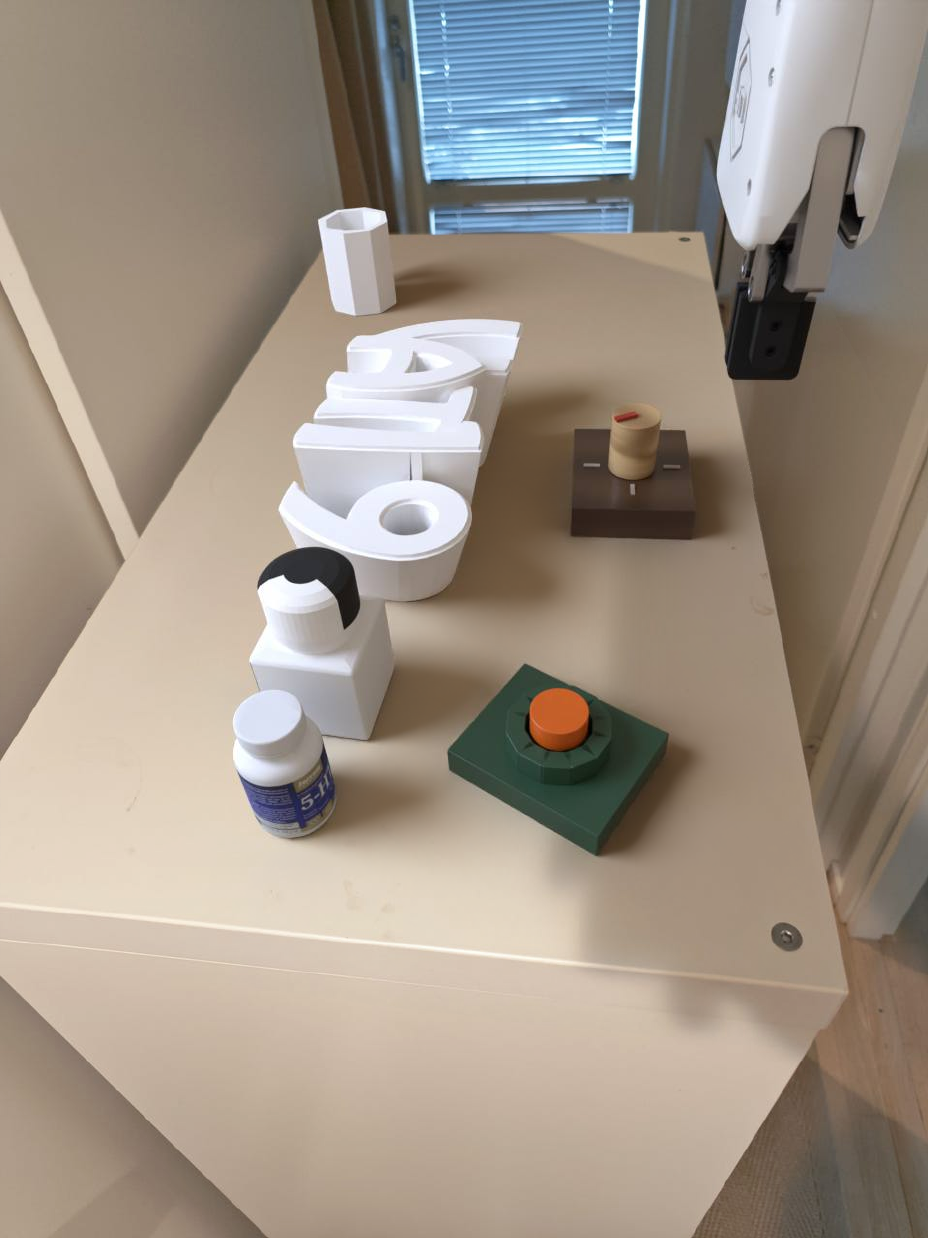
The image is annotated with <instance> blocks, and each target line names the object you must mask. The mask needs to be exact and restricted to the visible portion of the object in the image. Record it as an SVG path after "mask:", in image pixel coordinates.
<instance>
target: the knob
mask: <svg viewBox="0 0 928 1238" xmlns="http://www.w3.org/2000/svg"><path fill="white" fill-rule="evenodd" d="M661 423H662V414H661V412H660V410H659V409H657V408H656V407H654V406H653V405H650V404H647V403H641V402H630V403H625V404H621V405H619V406H617V407H616V408H615V409H614V410H613V411H612V413H611V423H610V429H611V434H610V447H609V460H608V468H609V470H610V471H611V473H613V474H614V475H615V476H617V477H620V478H623V479H628V480H638V479H643V478H646V477H648V476H650V475H651V474H652V473H653V472H654V470H655V465H656V457H657V449H658V441H659V433H660V430H661Z"/></svg>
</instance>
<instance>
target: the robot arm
mask: <svg viewBox="0 0 928 1238" xmlns="http://www.w3.org/2000/svg"><path fill="white" fill-rule="evenodd" d="M927 33H928V0H746V1H745V6H744V12H743V16H742V22H741V28H740V33H739V38H738V44H737V51H736V55H735V56H736V57H735V62H734V67H733V74H732V79H731V84H730V90H729V96H728V101H727V108H726V113H725V119H724V124H723V129H722V133H721V134H722V135H721V141H720V146H719V150H718V151H719V152H718V158H717V165H716V181H717V186H718V191H719V194H720V198H721V202H722V205H723V209H724V212H725V217H726V219H727V222H728V225H729V228H730V231H731V234H732V236H733V238H734V240H735V241H736V243H737V244H738V245H739V246H740V247H741V248H742V249H743V253H742V255H743V256H742V260H741V261H742V262H741V279H742V280H748V281H736V282H737V283H736V288H735V292H734V293H735V294H734V299H733V305H732V311H731V314H730V315H731V316H730V322H729V327H728V332H727V333H728V334H727V338H726V345H725V350H724V363H725V366H726V372H727V376H728V378H729V379H731V380H733V381H792V380H794V379H796V378H797V376H799V373H800V369H801V365H802V361H803V356H804V353H805V349H806V345H807V341H808V336H809V332H810V328H811V324H812V320H813V315H814V312H815V307H816V303H817V300H818V297H819V295H820V293H825V291H826V290H827V287H828V283H829V279H830V273H831V268H832V263H833V257H834V253H835V252H834V251H835V248H836V247H835V245H836V241H837V236H838V237H839V239H840V241H841V242H842V244H843V245H844V247H845V248H846V249H848V250H855V249H856V248H857V247H859V246H861V245H862V244H864V243H865V242H866V241H867V240H868V239H869V238H870V237H871V235H872V234H873V231H874V229H875V227H876V225H877V222H878V219H879V216H880V213H881V210H882V208H883V205H884V201H885V198H886V195H887V192H888V189H889V185H890V181H891V179H892V178H891V177H892V175H893V171H894V168H895V164H896V162H897V161H896V160H897V157H898V153H899V149H900V145H901V142H902V138H903V134H904V131H905V127H906V123H907V122H906V121H907V119H908V115H909V110H910V106H911V103H912V98H913V94H914V90H915V86H916V81H917V78H918V73H919V68H920V64H921V60H922V55H923V51H924V47H925V43H926V39H927Z"/></svg>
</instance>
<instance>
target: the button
mask: <svg viewBox="0 0 928 1238" xmlns="http://www.w3.org/2000/svg"><path fill="white" fill-rule="evenodd" d="M588 720H589V708H588V705H587V703H586V701H585V700H584V699H583V698H582V697H581V696H580V695H579V694H577V693H576V692H574V691H571V690H568V689H562V688H554V689H549V690H546V691H543V692H542V693H540V694H539V695H537V696H536V697H535V698H534V700H533V701H532V703H531V706H530V733H531V735H532V737H533V739H534V740H535V741H536V742H537V743H538V744H539V745H541V746H542V747H544V748H546V749H549V750H553V751H566V750H570V749H573V748H575V747H577V746H578V745H580V744H581V743H582V742H583V741H584V739H585V738H586V736H587V732H588Z"/></svg>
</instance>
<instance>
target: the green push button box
mask: <svg viewBox="0 0 928 1238" xmlns="http://www.w3.org/2000/svg"><path fill="white" fill-rule="evenodd" d="M554 688H562V689H568V690H571V691H574V692H576V693H577V694H579V695H580V696H581V697H582V698H583V699H584V700H585V701H586V703H587V705H588V708H589V720H588V732H587V736H586V738H585V739H584V741H583V742H582V743H581V744H580V745H578V746H577V747H575V748H573V749H570V750H566V751H553V750H549V749H546V748H544V747H542V746H541V745H539V744H538V743H537V742H536V741H535V740H534V739H533V737H532V735H531V733H530V706H531V703H532V701H533V700H534V698H535V697H536V696H537V695H539V694H540V693H542V692H543V691H546V690H549V689H554ZM669 738H670V733H668V732H666V731H664V730H662V729H661V728H659V727H656V726H654V725H652V724H651V723H648V722H646V721H644V720H642V719H640V718H638V717H636V716H634V715H631V714H630V713H628V712H626V711H623V710H621V709H619V708H618V707H616V706H614V705H611V704H609V703H608V702H605V701H603V700H601V699H600V698H598V696H596V695H595V694H592V693H590V692H588V691H586V690H585V689H582V688H580V687H578V686H576V685H573V684H572V685H570V684H569V683H567V682H564V681H563V680H561V679H558V678H556V677H555V676H552V675H550V674H549V673H546V672H544V671H543V670H540V669H538V668H536V667H534V666H531V665H530V664H528V663H523V664H522V666H520V668H519V669H518V670H517V671H516V672H515V673H514V675H513V676H512V677H511V678H510V679H509V680H508V682H507V683H505V685H504V686H503V687H502V688H501V689H500V690H499V691H498V693H497V694H496V695H494V697H493V698H491V700H490V701H489V702H488V704H487V705H485V707H484V708H483V710H481V711H480V713H479V714H478V715H477V716H476V717H475V718H474V719H473V721H472V722H471V723H470V724H468V726H467V727H466V728H465V729H464V730H463V732H462V733H461V734H460V735H459V736H458V737H457V738H456V739H455V741H454V742H453V743H452V744H451V745H450V746H449V747H448V748H447V749H446V754H447V763H448V770H449V771H450V772H451V773H453V774H455V775H457V776H458V777H460V778H462V779H464V780H465V781H467V782H469V783H470V784H472V785H474V786H476V787H477V788H478V789H481V790H482V791H484V792H486V793H488V794H489V795H491V796H493V797H494V798H496V799H498V800H499V801H501V802H503V803H505V804H507V805H508V806H510V807H511V808H513V809H515V810H517V811H518V812H520V813H522V814H523V815H525V816H527V817H528V818H530V819H532V820H533V821H535V822H537V823H539V824H540V825H542V826H543V827H545V828H547V829H549V830H551V831H553V832H554V833H556V834H558V835H559V836H561V837H562V838H564V839H566V840H567V841H569V842H571V843H573V844H575V845H576V846H577V847H579V848H582V849H583V850H584V851H587V852H588V853H590V854H592V855H593V856H595V857H596V856H598V854H599V853H600V851H601V850H602V848H603V847H604V845H605V844H606V842H607V841H608V839H609V838H610V837H611V835H612V834H613V832H614V830H615V829H616V828H617V826H618V825H619V823H620V822H621V820H623V817H624V816H625V815H626V813H627V811H628V810H629V808H631V806H632V804H633V803H634V801H635V800H636V798H637V797H638V796H639V794H640V792H641V791H642V790H643V788H644V787H645V785H646V784H647V782H648V781H649V779H650V778H651V776H652V775H653V773H654V772H655V771H656V769H657V767H658V766H659V764H660V763H661V762H662V761H663V758H664V757H665V756H666V753H667V747H668V743H669Z"/></svg>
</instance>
